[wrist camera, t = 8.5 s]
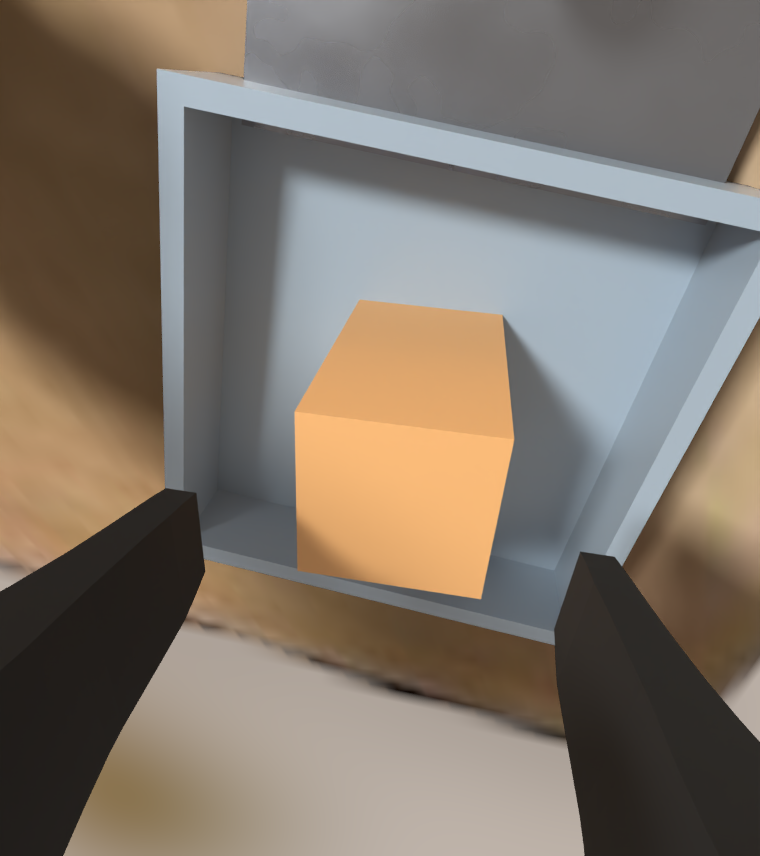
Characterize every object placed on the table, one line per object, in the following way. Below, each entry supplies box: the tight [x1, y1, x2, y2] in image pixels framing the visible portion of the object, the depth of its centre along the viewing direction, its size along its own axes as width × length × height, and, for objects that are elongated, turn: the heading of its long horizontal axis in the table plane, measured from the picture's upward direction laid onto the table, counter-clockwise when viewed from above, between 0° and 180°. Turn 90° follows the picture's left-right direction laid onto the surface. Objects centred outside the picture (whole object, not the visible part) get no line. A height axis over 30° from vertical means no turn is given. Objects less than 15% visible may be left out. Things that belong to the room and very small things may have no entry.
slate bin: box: [157, 69, 760, 645], centre depth 17 cm, size 14×14×4 cm
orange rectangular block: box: [295, 300, 514, 599], centre depth 15 cm, size 4×4×7 cm
